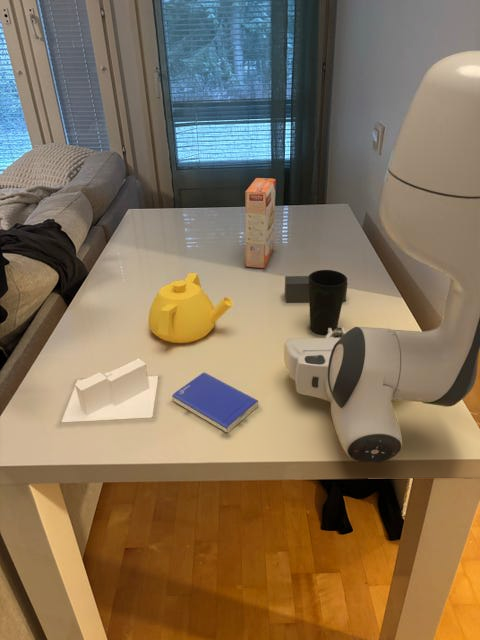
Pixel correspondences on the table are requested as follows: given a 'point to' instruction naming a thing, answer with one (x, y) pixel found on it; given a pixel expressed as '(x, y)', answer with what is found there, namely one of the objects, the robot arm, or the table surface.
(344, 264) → the table surface
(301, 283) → the stop block
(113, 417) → the napkin holder
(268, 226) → the cracker box
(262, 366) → the table surface
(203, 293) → the teapot
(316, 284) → the cup
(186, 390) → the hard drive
